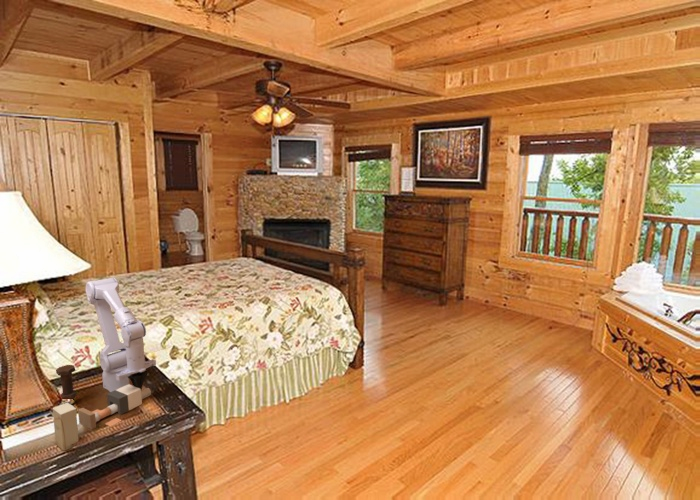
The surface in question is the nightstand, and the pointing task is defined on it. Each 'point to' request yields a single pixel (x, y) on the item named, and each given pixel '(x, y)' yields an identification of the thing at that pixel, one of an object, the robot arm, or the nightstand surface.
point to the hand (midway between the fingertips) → (138, 390)
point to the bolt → (67, 381)
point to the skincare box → (65, 425)
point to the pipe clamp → (103, 413)
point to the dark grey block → (118, 401)
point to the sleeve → (132, 395)
